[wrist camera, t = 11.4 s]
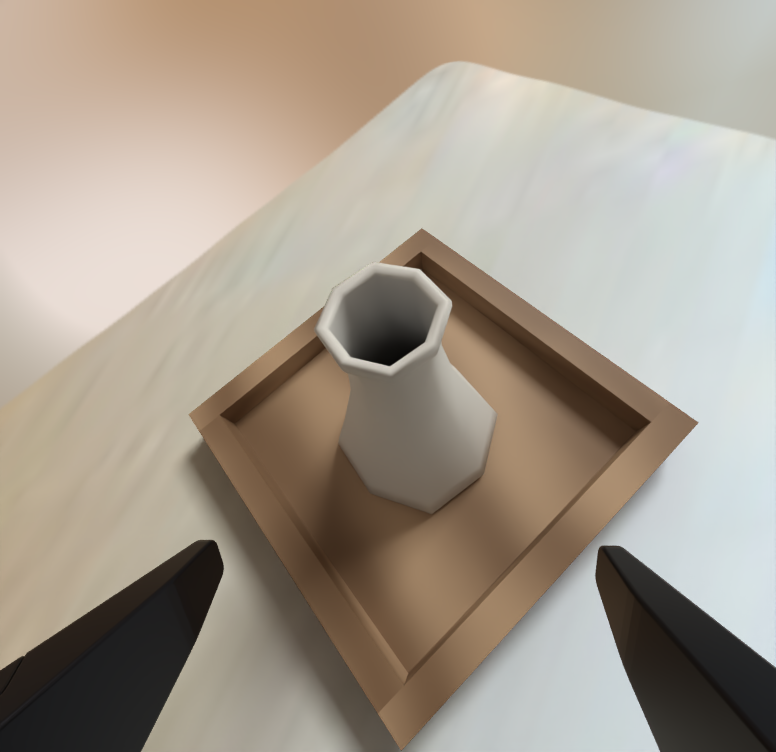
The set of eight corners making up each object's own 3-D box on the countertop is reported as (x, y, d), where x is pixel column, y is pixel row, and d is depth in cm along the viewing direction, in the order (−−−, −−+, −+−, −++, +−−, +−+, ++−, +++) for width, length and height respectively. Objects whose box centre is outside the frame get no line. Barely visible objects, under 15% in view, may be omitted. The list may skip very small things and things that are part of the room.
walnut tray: (408, 721, 14) (401, 751, 12) (213, 427, 21) (188, 414, 19) (669, 437, 17) (698, 422, 15) (424, 255, 23) (421, 228, 21)
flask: (437, 546, 16) (418, 548, 7) (314, 449, 18) (181, 356, 9) (524, 410, 17) (600, 268, 8) (400, 340, 20) (358, 173, 11)
